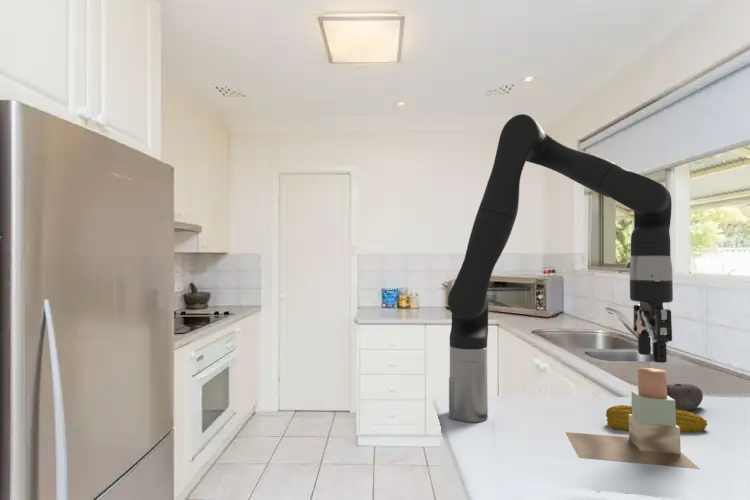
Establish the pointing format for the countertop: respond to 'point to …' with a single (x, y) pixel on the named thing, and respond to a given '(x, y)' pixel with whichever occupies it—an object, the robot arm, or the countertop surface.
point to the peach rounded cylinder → (652, 383)
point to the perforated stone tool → (685, 396)
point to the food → (684, 420)
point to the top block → (653, 410)
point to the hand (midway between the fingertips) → (651, 358)
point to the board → (622, 451)
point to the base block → (654, 437)
